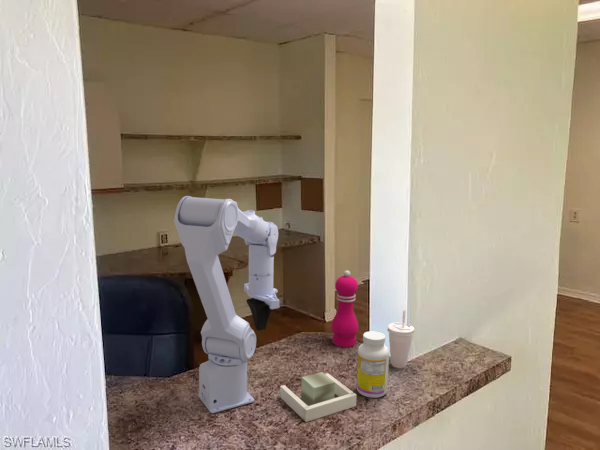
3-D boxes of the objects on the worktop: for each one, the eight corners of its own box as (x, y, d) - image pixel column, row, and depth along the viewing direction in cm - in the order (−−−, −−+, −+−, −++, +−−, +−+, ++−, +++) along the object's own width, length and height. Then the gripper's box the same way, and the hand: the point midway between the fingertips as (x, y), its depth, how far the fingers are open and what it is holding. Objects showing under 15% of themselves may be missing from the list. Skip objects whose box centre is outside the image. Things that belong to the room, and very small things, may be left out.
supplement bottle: (365, 380, 111) (367, 326, 108) (392, 389, 107) (395, 334, 105) (350, 392, 105) (352, 336, 103) (378, 402, 101) (381, 344, 99)
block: (313, 411, 98) (314, 387, 97) (301, 399, 102) (301, 377, 101) (334, 404, 100) (335, 382, 100) (321, 393, 105) (322, 371, 104)
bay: (306, 422, 94) (306, 410, 93) (280, 397, 103) (280, 385, 102) (356, 406, 100) (356, 394, 99) (327, 383, 109) (327, 373, 108)
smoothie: (405, 373, 114) (408, 316, 112) (380, 365, 118) (383, 310, 116) (416, 364, 119) (420, 309, 117) (392, 356, 123) (395, 303, 121)
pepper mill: (329, 346, 128) (331, 273, 125) (332, 336, 135) (334, 266, 132) (357, 349, 127) (360, 275, 124) (358, 338, 134) (361, 267, 131)
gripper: (291, 278, 108) (290, 336, 110) (262, 263, 120) (262, 316, 123) (263, 282, 105) (262, 342, 107) (236, 267, 117) (236, 321, 119)
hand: (260, 329), depth 115 cm, fingers closed
